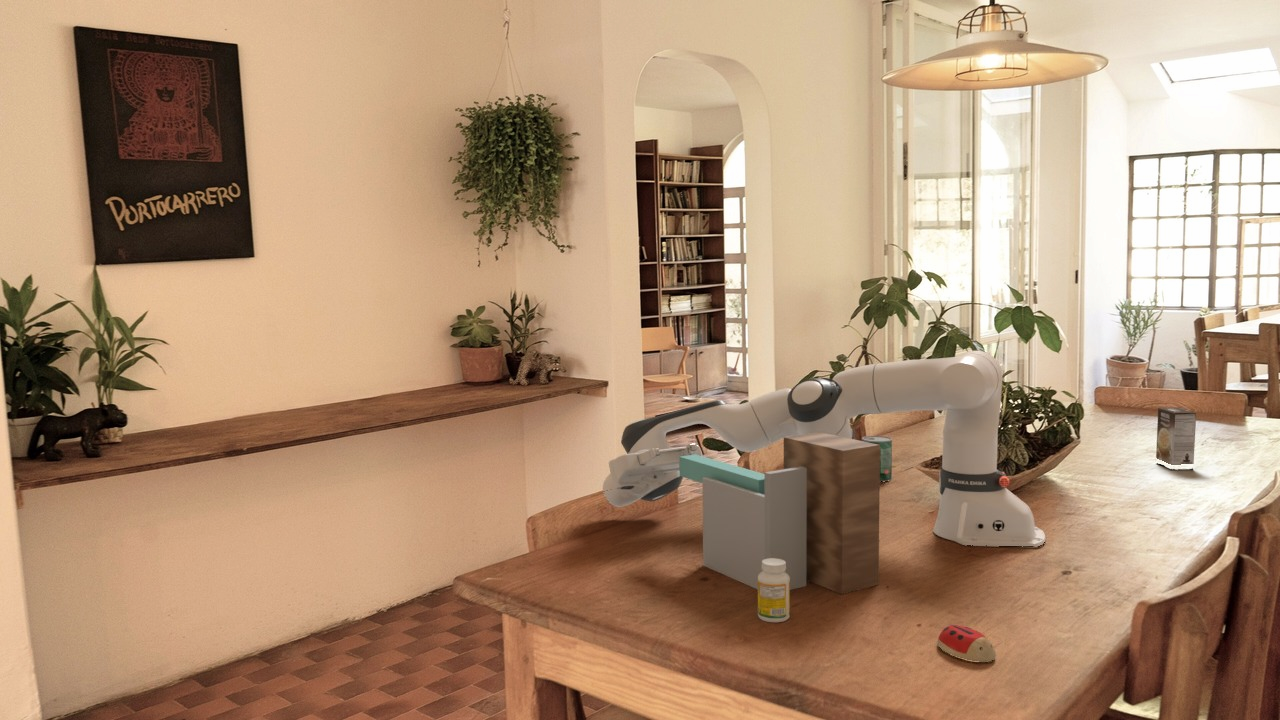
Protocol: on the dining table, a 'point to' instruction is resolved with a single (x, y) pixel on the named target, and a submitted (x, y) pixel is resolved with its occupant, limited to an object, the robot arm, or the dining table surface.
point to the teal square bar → (720, 472)
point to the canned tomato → (883, 455)
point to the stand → (839, 508)
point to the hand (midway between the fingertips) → (675, 449)
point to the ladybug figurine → (966, 643)
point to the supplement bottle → (773, 591)
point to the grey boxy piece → (756, 526)
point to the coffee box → (1176, 435)
